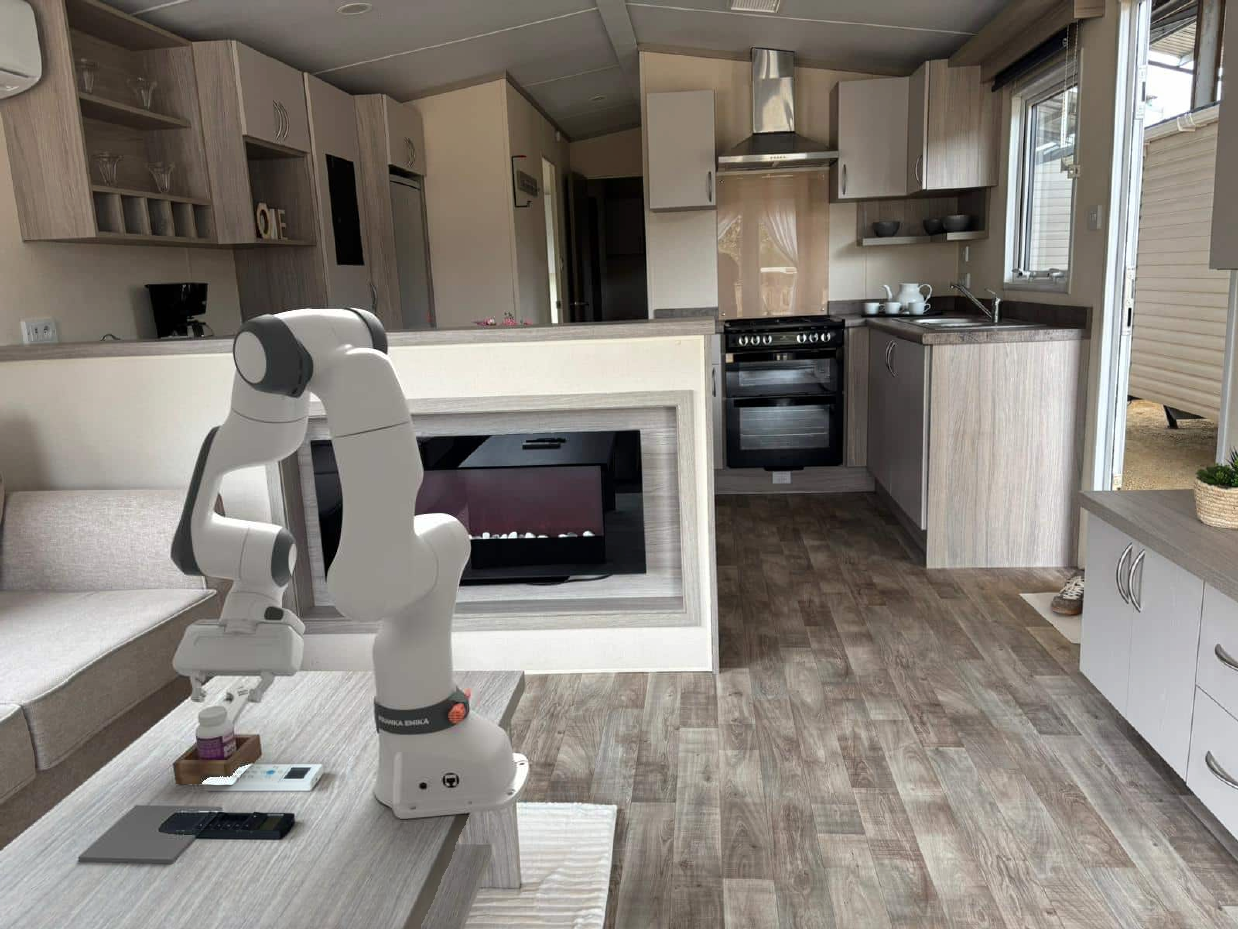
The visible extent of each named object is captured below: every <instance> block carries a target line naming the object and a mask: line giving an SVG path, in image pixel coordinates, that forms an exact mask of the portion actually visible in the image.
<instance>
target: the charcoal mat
mask: <svg viewBox="0 0 1238 929" xmlns="http://www.w3.org/2000/svg"><path fill="white" fill-rule="evenodd" d="M220 810H222V811H223V808H222V806H207V805H206V806H205V805H204V806H200V805H199V806H196V805H195V806H194V805H153V804H152V805H150V804H149V805H147V804H143V805H142V804H141V805H140V804H135V805H134V806H133V807H131V809H130V810H128V812H126V813H125V814H124V815H122V817H121V818H120V819H119V820H118V821H116V822H115V824H113V825H112V826H111V827H110V828H108V829H107V831H105V832H104V833H103V834H102V835H101V836H100V837H99V838H97V839H96V840H95V841H94V842H93V843H92V844H91V845H90V846H89V847H87V848H86V850H84V851H83V852H82V853H81V854H80V855H79V856H77V859H78V861H79V862H93V863H94V862H95V863H96V862H97V863H136V864H137V863H139V864H169V865H170V864H174V863H175V862H176V860H178V859H179V858H180V856H182V854H183V853H184V852H185V851H186V850H187V849H188V848H189V847H190V846H191V845H192V843H193V842H195V840H196V839H197V838H195V837H196V836H195V835H184V834H183V835H178V834H177V835H175V834H168V833H167V834H166V833H163V832H162V833H161V832H159V830H158V829H159V827H160V825H161V824H162V823H163V822H164V821H166V820H167V819H168V818H169V817H170V815H171V814H174V813H176V812H182V811H183V812H185V811H186V812H199V811H220Z"/></svg>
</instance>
